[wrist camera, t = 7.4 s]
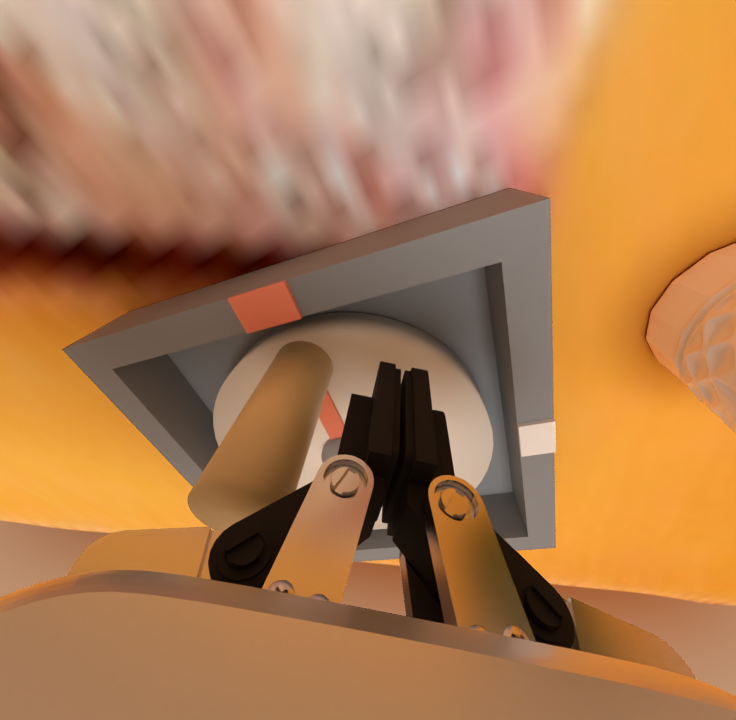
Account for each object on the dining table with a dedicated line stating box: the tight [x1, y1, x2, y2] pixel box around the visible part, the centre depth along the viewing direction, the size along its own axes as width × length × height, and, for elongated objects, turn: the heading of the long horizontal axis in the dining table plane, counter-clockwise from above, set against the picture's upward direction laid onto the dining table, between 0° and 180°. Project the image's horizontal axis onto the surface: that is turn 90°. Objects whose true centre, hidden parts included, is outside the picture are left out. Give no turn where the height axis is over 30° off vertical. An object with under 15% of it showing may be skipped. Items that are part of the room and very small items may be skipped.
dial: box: [188, 312, 493, 530], centre depth 15 cm, size 15×15×9 cm
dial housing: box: [62, 188, 556, 562], centre depth 18 cm, size 20×20×4 cm
